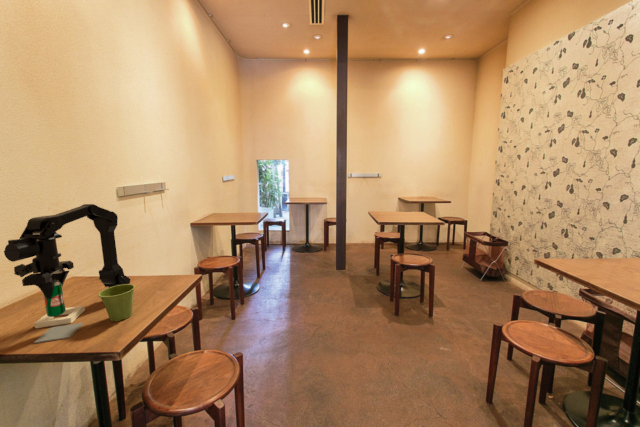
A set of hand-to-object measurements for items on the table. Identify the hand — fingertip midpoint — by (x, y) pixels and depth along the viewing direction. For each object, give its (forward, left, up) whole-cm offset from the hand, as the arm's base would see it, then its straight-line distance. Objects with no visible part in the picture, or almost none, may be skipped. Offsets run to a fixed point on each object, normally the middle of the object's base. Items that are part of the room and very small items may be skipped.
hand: (53, 295), depth 106 cm
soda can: (0, 0, -7) cm, 7 cm away
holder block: (+4, -10, -13) cm, 17 cm away
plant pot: (-18, -3, -14) cm, 23 cm away
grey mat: (-1, +3, -13) cm, 14 cm away
